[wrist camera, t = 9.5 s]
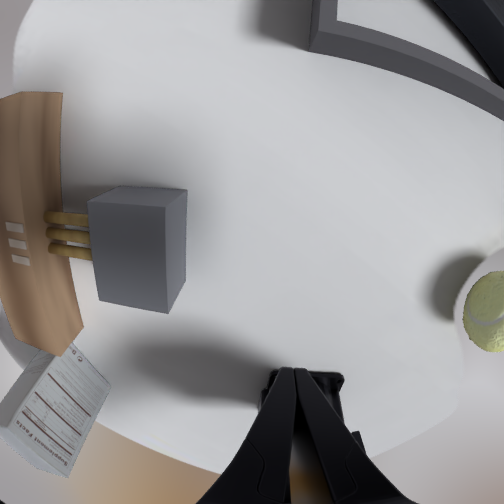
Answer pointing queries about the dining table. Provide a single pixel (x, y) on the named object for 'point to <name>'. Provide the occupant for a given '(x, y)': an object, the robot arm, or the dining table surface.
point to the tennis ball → (486, 312)
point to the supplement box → (52, 409)
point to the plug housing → (139, 246)
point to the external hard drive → (481, 28)
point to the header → (37, 225)
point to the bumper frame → (399, 58)
